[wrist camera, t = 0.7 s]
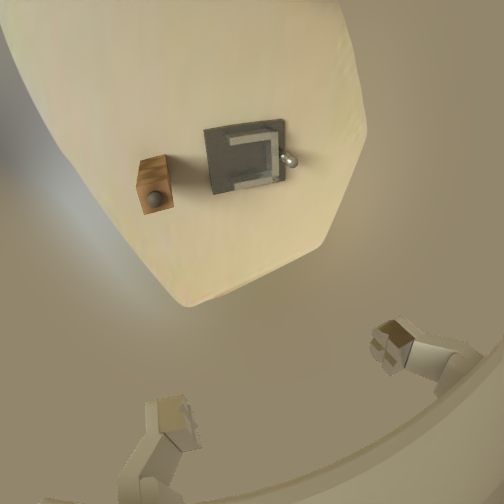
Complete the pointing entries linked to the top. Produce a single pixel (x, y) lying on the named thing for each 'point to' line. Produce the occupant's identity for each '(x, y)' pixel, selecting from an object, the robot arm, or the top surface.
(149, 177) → the walnut toggle block
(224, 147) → the keeper bracket
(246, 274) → the top surface
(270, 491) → the robot arm
